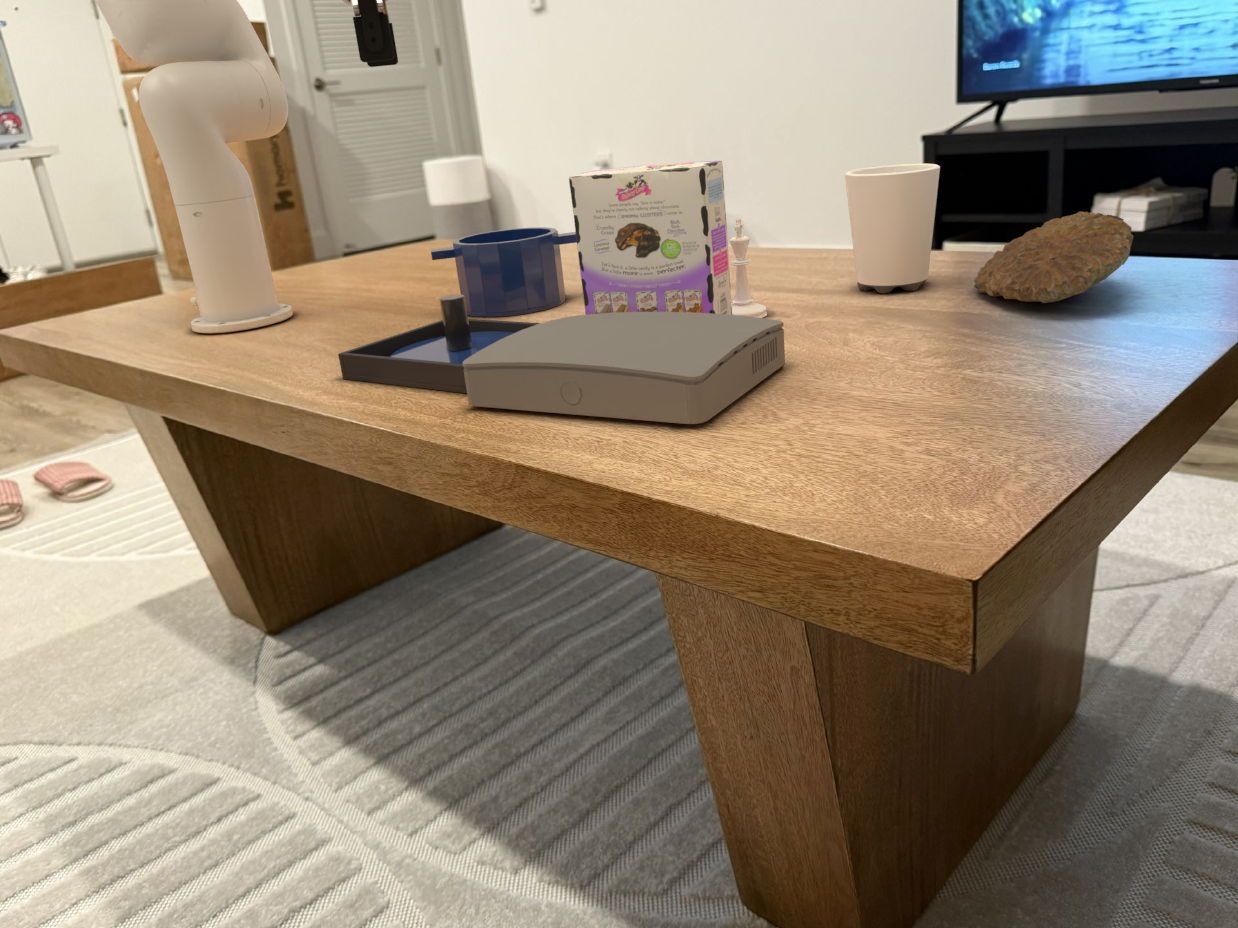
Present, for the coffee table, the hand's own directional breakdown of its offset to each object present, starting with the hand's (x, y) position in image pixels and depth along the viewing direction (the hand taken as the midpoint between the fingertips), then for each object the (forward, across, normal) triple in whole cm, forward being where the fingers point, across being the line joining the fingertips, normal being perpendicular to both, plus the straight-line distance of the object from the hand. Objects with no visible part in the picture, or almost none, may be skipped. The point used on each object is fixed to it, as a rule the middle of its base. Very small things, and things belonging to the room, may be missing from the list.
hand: (380, 63), depth 99 cm
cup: (+28, +6, +52) cm, 59 cm away
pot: (+28, -12, +11) cm, 33 cm away
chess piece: (+28, +11, +33) cm, 45 cm away
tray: (+28, +15, +4) cm, 32 cm away
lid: (+27, +15, +4) cm, 31 cm away
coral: (+28, +20, +62) cm, 71 cm away
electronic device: (+28, +30, +18) cm, 45 cm away
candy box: (+28, +15, +23) cm, 40 cm away
